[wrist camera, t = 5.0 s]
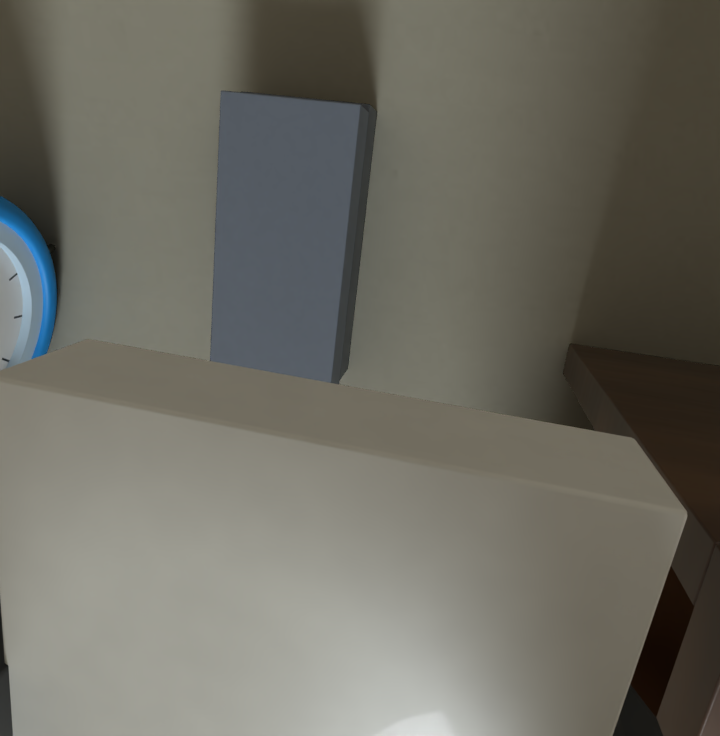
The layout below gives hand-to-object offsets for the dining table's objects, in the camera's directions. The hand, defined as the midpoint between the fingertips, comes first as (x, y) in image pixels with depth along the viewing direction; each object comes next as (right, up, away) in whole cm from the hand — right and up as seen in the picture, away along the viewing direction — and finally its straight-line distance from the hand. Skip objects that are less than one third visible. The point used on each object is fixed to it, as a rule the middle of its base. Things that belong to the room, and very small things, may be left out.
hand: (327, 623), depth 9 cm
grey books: (-2, +10, +18) cm, 21 cm away
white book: (0, 0, -1) cm, 1 cm away
